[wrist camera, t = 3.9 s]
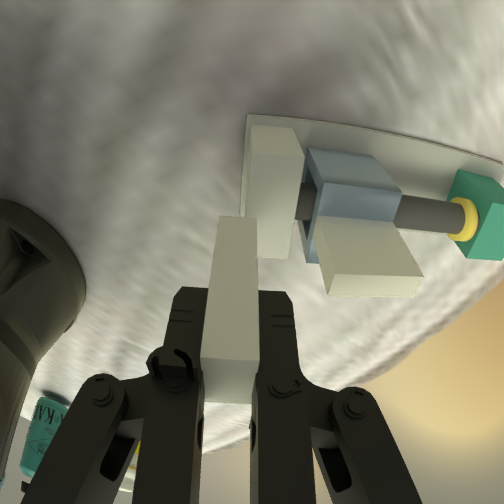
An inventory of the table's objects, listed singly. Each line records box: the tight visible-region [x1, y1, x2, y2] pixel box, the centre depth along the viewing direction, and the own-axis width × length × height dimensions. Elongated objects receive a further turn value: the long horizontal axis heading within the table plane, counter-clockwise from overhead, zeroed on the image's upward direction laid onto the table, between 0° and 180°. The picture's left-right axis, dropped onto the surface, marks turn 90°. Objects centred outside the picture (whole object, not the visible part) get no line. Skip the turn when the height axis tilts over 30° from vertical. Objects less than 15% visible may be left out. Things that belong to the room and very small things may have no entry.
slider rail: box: [240, 114, 504, 261], centre depth 18 cm, size 20×7×5 cm, turn 86°
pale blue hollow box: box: [297, 147, 424, 297], centre depth 15 cm, size 4×5×9 cm
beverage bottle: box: [19, 397, 68, 493], centre depth 37 cm, size 6×7×20 cm
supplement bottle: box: [119, 442, 140, 492], centre depth 45 cm, size 7×7×13 cm
